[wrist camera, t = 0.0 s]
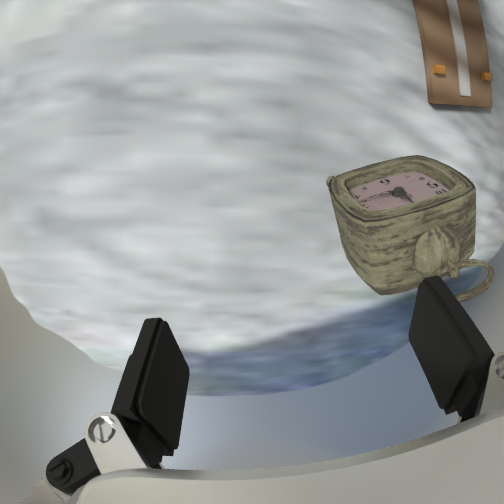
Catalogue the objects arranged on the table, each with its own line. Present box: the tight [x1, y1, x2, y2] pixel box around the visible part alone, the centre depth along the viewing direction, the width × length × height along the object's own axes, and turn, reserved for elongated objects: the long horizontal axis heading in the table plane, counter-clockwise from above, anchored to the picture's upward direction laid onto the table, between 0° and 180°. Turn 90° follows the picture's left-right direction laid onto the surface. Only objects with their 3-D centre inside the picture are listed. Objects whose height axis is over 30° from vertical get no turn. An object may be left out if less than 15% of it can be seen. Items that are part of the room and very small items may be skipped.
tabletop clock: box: [326, 155, 494, 303], centre depth 29 cm, size 14×9×25 cm, turn 109°
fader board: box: [413, 0, 492, 108], centre depth 25 cm, size 28×12×2 cm, turn 10°
